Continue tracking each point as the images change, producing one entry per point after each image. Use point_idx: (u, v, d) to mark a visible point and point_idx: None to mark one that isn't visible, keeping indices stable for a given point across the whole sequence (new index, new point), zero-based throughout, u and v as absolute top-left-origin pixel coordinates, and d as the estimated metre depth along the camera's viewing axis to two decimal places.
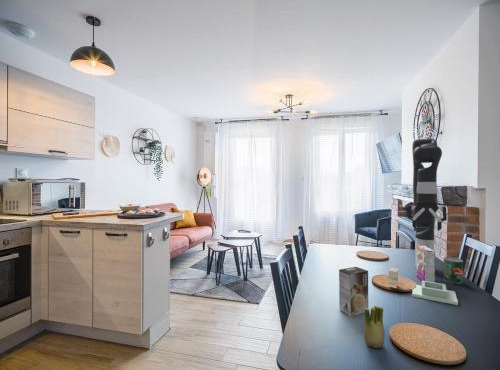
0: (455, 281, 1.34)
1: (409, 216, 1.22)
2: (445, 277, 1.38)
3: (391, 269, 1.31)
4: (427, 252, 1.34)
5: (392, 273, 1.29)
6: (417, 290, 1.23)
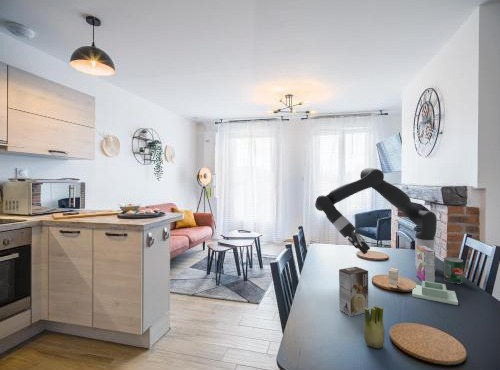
0: (455, 281, 1.34)
1: None
2: (445, 277, 1.38)
3: (391, 269, 1.31)
4: (427, 252, 1.34)
5: (392, 273, 1.29)
6: (417, 290, 1.23)
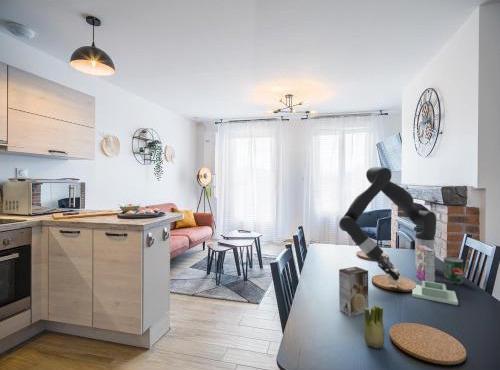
0: (455, 281, 1.34)
1: None
2: (445, 277, 1.38)
3: None
4: (427, 252, 1.34)
5: None
6: (417, 290, 1.23)
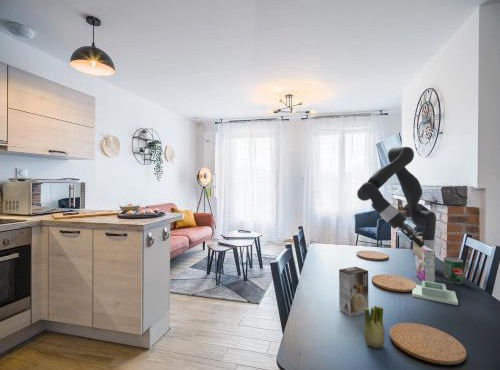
0: (455, 281, 1.34)
1: None
2: (445, 277, 1.38)
3: None
4: (427, 252, 1.34)
5: None
6: (417, 290, 1.23)
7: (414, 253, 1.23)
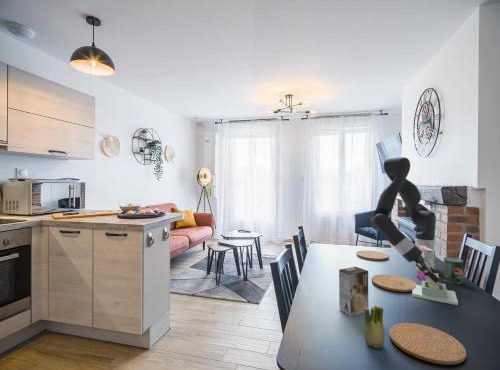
0: (455, 281, 1.34)
1: None
2: (445, 277, 1.38)
3: None
4: (427, 252, 1.34)
5: None
6: (417, 290, 1.23)
7: None
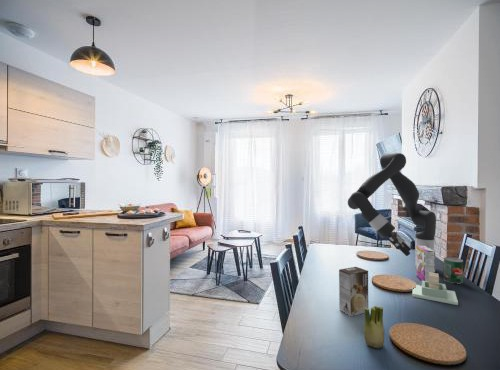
0: (455, 281, 1.34)
1: None
2: (445, 277, 1.38)
3: (431, 274, 1.21)
4: (427, 252, 1.34)
5: (433, 278, 1.19)
6: (417, 290, 1.23)
7: None
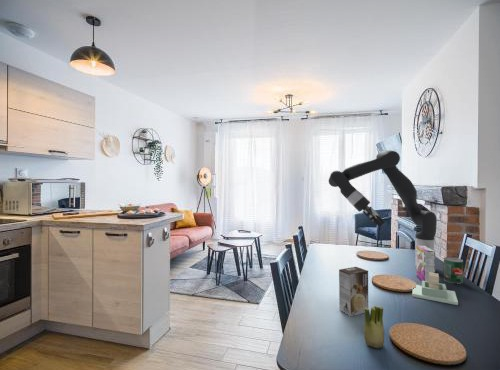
0: (455, 281, 1.34)
1: None
2: (445, 277, 1.38)
3: (431, 274, 1.21)
4: (427, 252, 1.34)
5: (433, 278, 1.19)
6: (417, 290, 1.23)
7: None
